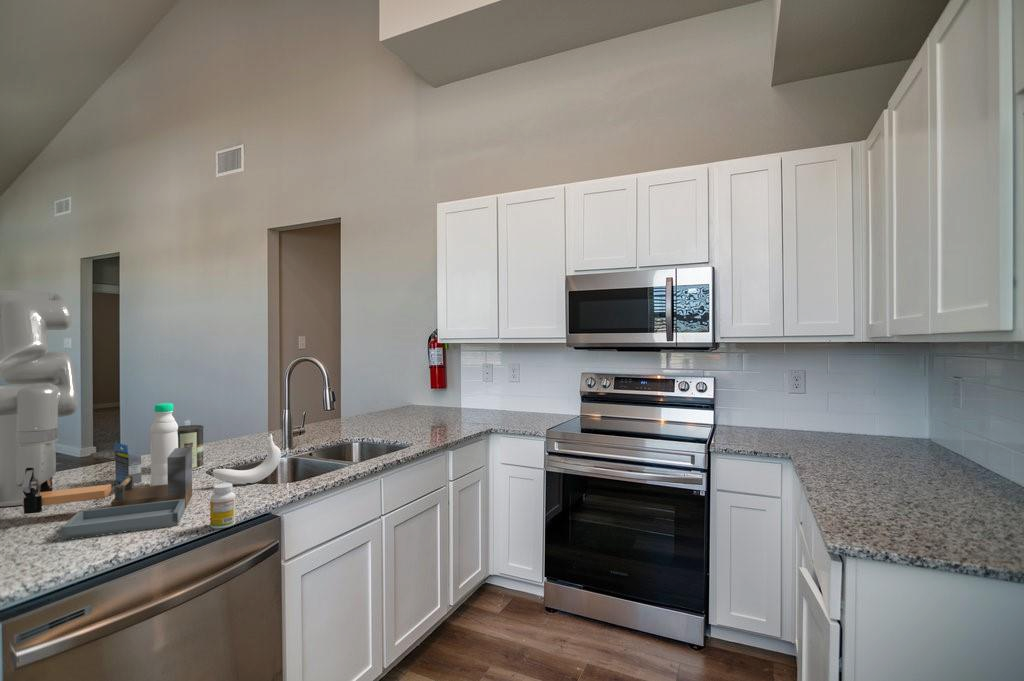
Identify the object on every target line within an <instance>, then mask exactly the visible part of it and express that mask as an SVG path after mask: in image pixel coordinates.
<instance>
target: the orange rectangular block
mask: <svg viewBox="0 0 1024 681" xmlns="http://www.w3.org/2000/svg"><path fill="white" fill-rule="evenodd" d="M111 492H112V483H111V484H110V483H109V484H100V485H92V486H91V485H90V486H82V487H74V488H73V487H72V488H66V489H56V490H53V491H47V492H40V496H41V495H42V507H46V506H52V505H53V506H54V505H63V504H69V503H75V502H76V503H77V502H86V501H93V500H101V499H106V498H107V497H108V495H109V494H111ZM22 508H23V509H24V500H23V505H22Z"/></svg>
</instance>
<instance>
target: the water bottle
mask: <svg viewBox="0 0 1024 681" xmlns="http://www.w3.org/2000/svg"><path fill="white" fill-rule="evenodd" d="M154 412H155V415H156V416H155V418H154V419H153V422H152V424H151V426H150V428H149V430H150V434H151V435H150V450H149V451H150V462H151V463H150V486H156V485H165V484H168V466H167V458H168V456H169V455H170V454H171V453H172V452H173V450H174V449H175V448H178V433H177V430H178V426H179V425H178V423H177V421H176V419H175V417H174V416H173V412H174V404H173V403H171V402H163V403H156V404H155V406H154Z"/></svg>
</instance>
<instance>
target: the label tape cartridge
mask: <svg viewBox="0 0 1024 681" xmlns="http://www.w3.org/2000/svg"><path fill="white" fill-rule="evenodd" d="M121 448H122V449H121ZM114 453H115V454H114V456H115V458H114V459H115V460H114V461H115V462H114V463H115V468H114V469H115V482H117V481H118V483H120V482H121V483H122V482H123V481H124V480H125V477H126V476H133V485H135V484H134V483H137V484H140V483H139V482H141V483H142V456H141V455H138V454H135V453H131V452H129V449H128V445H127V444H124V443H119V442H117V441H116V442H115V441H114ZM121 483H120V484H121Z"/></svg>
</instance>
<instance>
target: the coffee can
mask: <svg viewBox="0 0 1024 681" xmlns="http://www.w3.org/2000/svg"><path fill="white" fill-rule="evenodd" d="M204 429H205V428H204V425H201V424H200V425H199V424H192V425H190V424H188V425H178V430H177V433H178V448H185V447H192V470H194V471H197V470H196V469H198V470H200V469H199V468H201V469H203V468H204V466H205V465H204ZM202 467H203V468H202Z"/></svg>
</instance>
